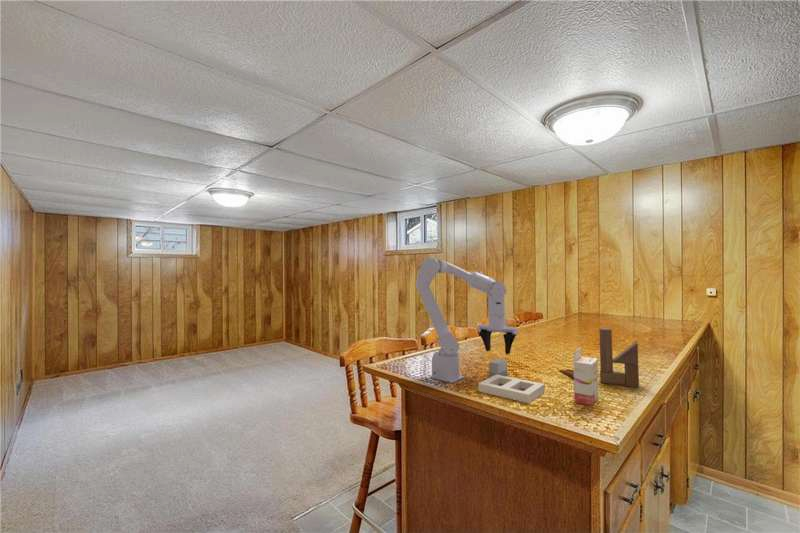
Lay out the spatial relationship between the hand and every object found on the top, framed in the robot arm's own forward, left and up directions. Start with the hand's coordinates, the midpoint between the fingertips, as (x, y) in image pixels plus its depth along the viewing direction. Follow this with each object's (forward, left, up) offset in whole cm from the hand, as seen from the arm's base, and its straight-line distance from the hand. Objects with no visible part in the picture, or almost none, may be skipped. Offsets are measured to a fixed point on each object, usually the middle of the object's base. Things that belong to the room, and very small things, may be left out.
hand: (497, 352), depth 126 cm
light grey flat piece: (+10, -11, -9) cm, 17 cm away
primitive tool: (+21, +16, -10) cm, 28 cm away
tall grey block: (0, 0, -9) cm, 9 cm away
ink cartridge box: (+30, -4, -9) cm, 32 cm away
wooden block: (+34, +18, -9) cm, 40 cm away
